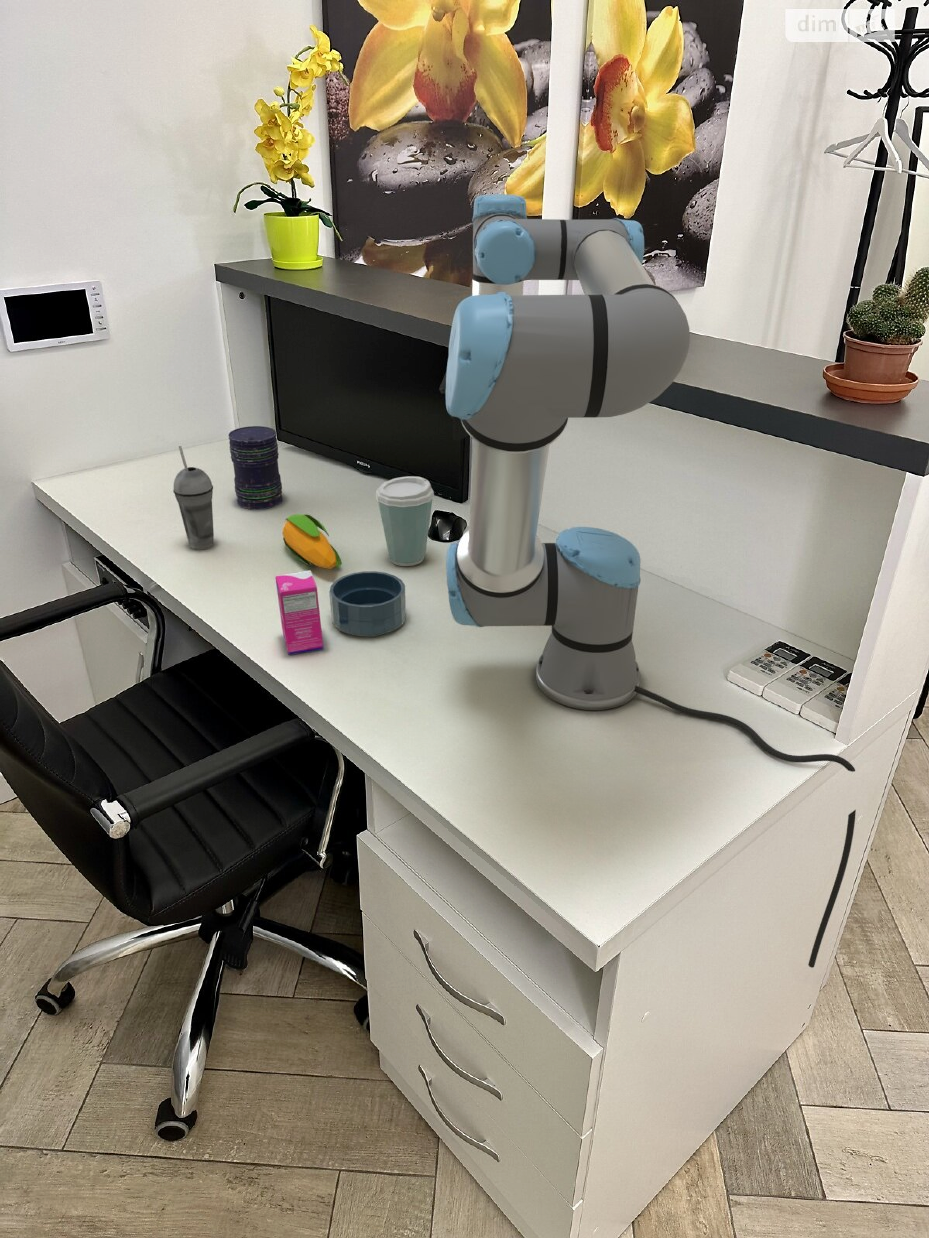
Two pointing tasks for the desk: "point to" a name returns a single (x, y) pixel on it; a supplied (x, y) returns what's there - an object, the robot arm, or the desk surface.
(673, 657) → the desk surface
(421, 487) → the disposable coffee cup
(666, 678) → the desk surface
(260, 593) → the desk surface
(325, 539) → the corn
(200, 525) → the beverage cup
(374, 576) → the bowl
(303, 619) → the supplement box
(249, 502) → the storage jar
